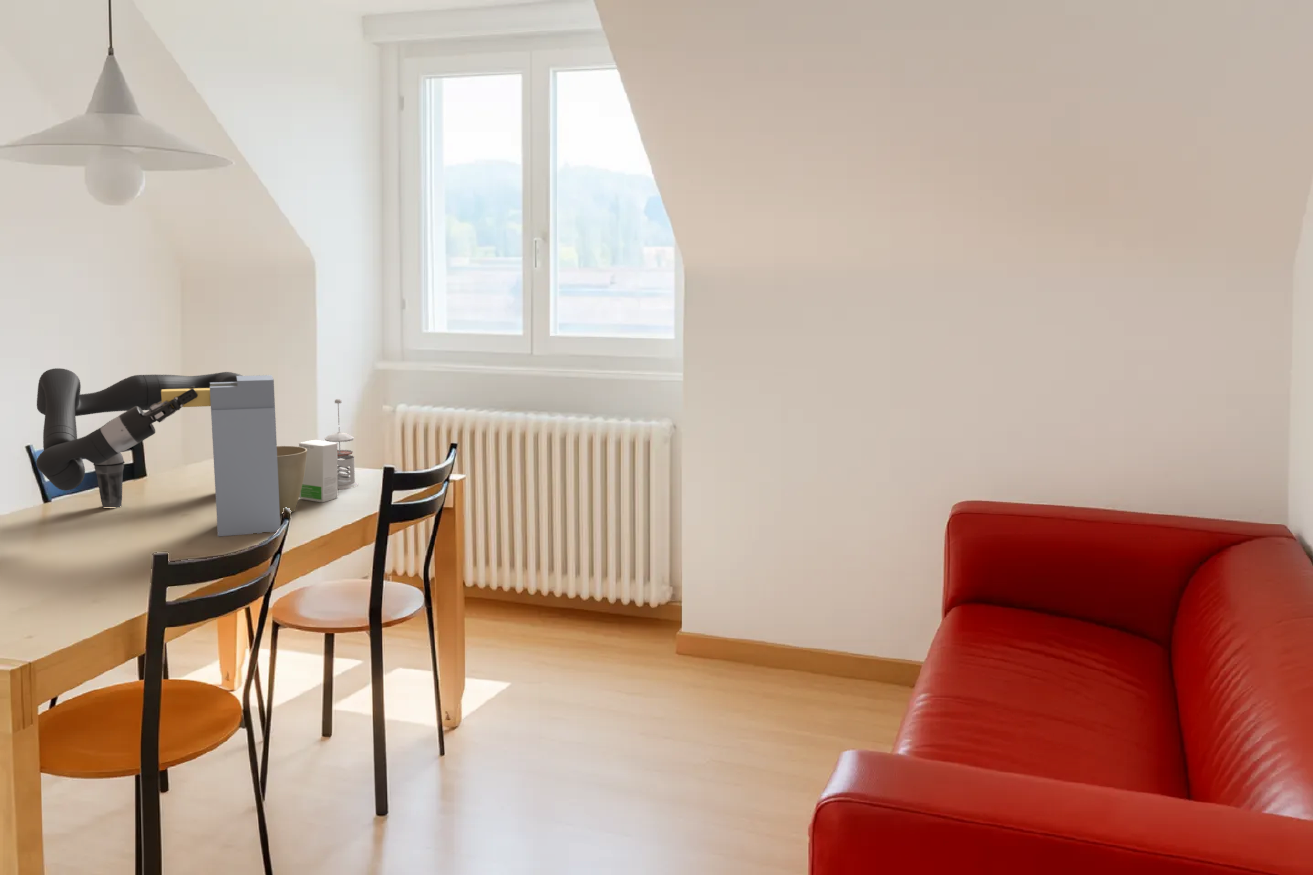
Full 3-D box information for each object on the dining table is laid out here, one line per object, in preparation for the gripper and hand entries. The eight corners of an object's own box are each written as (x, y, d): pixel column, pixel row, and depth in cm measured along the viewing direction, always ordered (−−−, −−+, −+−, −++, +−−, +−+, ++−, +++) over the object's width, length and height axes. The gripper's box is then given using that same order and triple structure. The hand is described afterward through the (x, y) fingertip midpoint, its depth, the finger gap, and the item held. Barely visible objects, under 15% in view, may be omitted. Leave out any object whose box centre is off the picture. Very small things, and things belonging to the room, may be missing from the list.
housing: (217, 536, 260) (209, 382, 254) (217, 525, 270) (209, 376, 264) (280, 531, 265) (273, 380, 259) (278, 520, 275) (271, 374, 269)
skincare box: (298, 499, 298) (296, 442, 295) (315, 494, 304) (312, 439, 301) (324, 502, 295) (322, 445, 292) (340, 497, 301) (338, 441, 298)
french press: (353, 489, 311) (350, 401, 307) (312, 488, 311) (308, 400, 307) (362, 482, 321) (360, 396, 317) (323, 481, 321) (320, 396, 317)
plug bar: (162, 407, 254) (161, 391, 253) (162, 405, 257) (161, 389, 257) (272, 404, 263) (271, 388, 262) (271, 401, 266) (270, 386, 266)
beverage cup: (134, 504, 289) (128, 429, 286) (112, 511, 282) (106, 434, 279) (112, 502, 291) (106, 427, 288) (89, 508, 285) (84, 432, 281)
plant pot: (292, 502, 295) (290, 443, 292) (319, 512, 284) (317, 451, 282) (238, 510, 285) (235, 450, 282) (264, 521, 274) (261, 458, 271)
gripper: (115, 421, 246) (185, 380, 250) (120, 411, 259) (187, 373, 263) (135, 448, 249) (205, 408, 253) (139, 438, 262) (205, 400, 266)
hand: (195, 391), depth 258 cm, fingers closed on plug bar, 3 cm apart
